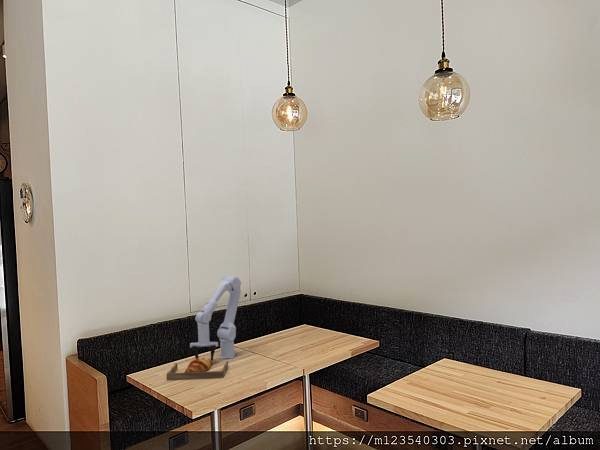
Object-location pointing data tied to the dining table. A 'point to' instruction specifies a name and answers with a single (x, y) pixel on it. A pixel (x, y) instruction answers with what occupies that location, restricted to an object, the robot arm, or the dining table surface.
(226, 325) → the robot arm
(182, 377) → the frame
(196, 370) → the croissant
